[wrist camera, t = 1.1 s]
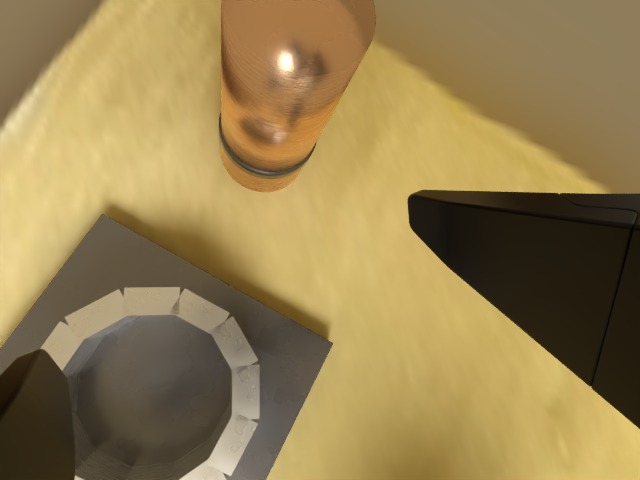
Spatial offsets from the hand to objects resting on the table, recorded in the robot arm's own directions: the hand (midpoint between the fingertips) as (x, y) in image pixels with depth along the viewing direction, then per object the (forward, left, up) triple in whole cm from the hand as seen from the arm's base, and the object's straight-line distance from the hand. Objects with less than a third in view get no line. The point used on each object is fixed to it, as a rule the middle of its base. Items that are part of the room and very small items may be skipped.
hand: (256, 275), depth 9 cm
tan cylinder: (+3, -8, -13) cm, 16 cm away
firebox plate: (+1, +6, -13) cm, 14 cm away
